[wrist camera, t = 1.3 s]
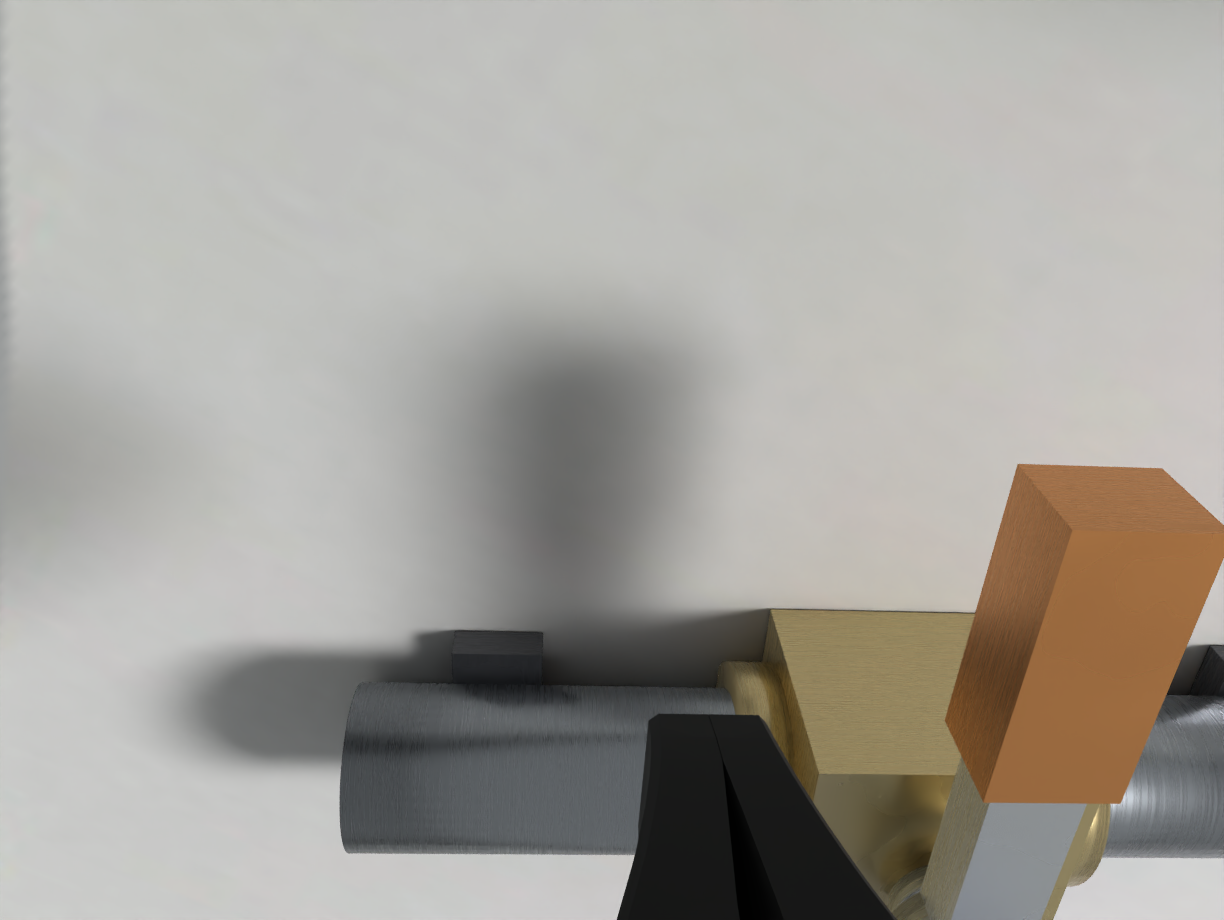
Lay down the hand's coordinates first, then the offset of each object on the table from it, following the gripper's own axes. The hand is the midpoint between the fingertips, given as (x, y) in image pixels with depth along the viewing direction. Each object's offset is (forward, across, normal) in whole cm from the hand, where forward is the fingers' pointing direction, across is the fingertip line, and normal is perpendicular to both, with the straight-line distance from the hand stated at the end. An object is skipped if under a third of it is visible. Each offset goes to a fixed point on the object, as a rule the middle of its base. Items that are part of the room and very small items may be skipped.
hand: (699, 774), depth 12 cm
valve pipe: (+9, -6, +8) cm, 13 cm away
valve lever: (+4, -6, +3) cm, 8 cm away
